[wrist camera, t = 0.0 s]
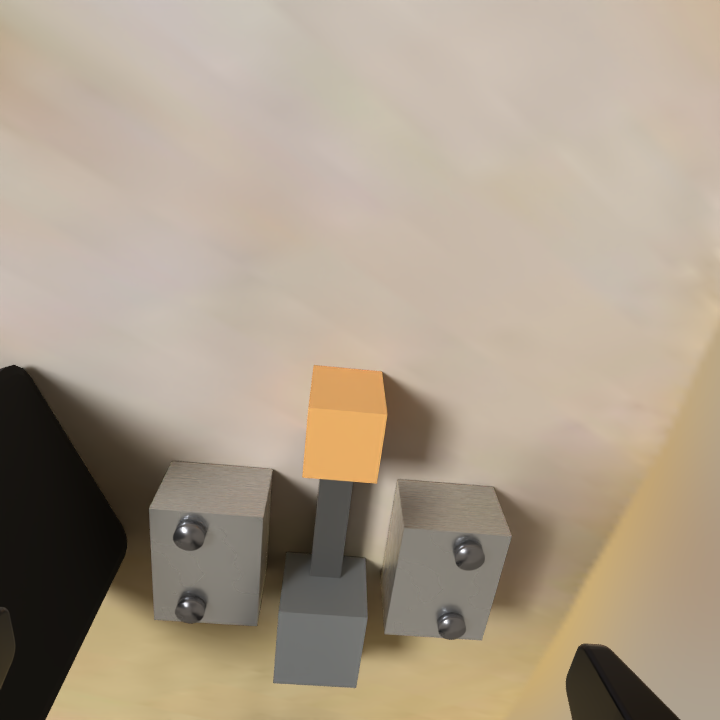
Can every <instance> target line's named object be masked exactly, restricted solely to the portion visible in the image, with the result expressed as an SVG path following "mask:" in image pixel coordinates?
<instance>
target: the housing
mask: <svg viewBox="0 0 720 720" xmlns="http://www.w3.org/2000/svg"><path fill="white" fill-rule="evenodd" d="M272 473H273V469H265V468H252V467H240V466H228V465H216V464H203V463H191V462H179V461H172V462H171V464H170V466H169V468H168V470H167V472H166V474H165V476H164V478H163V481H162V483H161V485H160V487H159V489H158V491H157V493H156V495H155V497H154V499H153V501H152V503H151V505H150V508H149V521H150V541H151V562H152V582H153V602H154V620H166V621H182V622H185V623H196V622H198V623H214V624H230V625H246V626H257V624H258V618H259V612H260V606H261V600H262V595H263V589H264V583H265V577H266V571H267V555H268V538H269V522H270V506H271V489H272ZM511 537H512V535H511V533H510V530H509V527H508V525H507V522H506V519H505V517H504V514H503V511H502V509H501V506H500V504H499V501H498V498H497V496H496V493H495V490H494V488H493V487H486V486H474V485H462V484H449V483H437V482H425V481H412V480H400V479H398V480H397V486H396V492H395V498H394V503H393V509H392V515H391V521H390V527H389V532H388V538H387V544H386V550H385V556H384V561H383V567H382V573H381V593H382V607H383V621H384V634H389V635H405V636H421V637H437V638H445V639H449V640H453V639H469V640H482V638H483V635H484V631H485V628H486V624H487V621H488V617H489V614H490V610H491V607H492V603H493V600H494V596H495V593H496V589H497V586H498V583H499V579H500V576H501V572H502V569H503V565H504V562H505V558H506V555H507V551H508V548H509V544H510V541H511Z"/></svg>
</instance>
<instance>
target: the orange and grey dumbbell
mask: <svg viewBox="0 0 720 720" xmlns="http://www.w3.org/2000/svg"><path fill="white" fill-rule="evenodd" d="M386 420H387V408H386V400H385V392H384V384H383V376H382V372H380V371H370V370H359V369H349V368H338V367H327V366H317V365H314V368H313V376H312V384H311V392H310V400H309V408H308V419H307V430H306V442H305V453H304V465H303V476H302V477H303V478H315V479H319V488H318V497H317V507H316V517H315V526H314V536H313V546H312V554H306V553H292V552H287V553H286V561H285V568H284V576H283V583H282V591H281V598H280V606H279V614H278V627H277V640H276V653H275V667H274V680H273V683H280V684H297V685H315V686H332V687H350V688H356V685H357V679H358V673H359V667H360V661H361V655H362V649H363V643H364V637H365V631H366V625H367V619H368V612H367V586H366V561H365V558H361V557H348V556H343V555H344V547H345V540H346V532H347V525H348V517H349V510H350V502H351V495H352V487H353V482H364V483H377V479H378V472H379V466H380V459H381V453H382V446H383V440H384V433H385V427H386Z"/></svg>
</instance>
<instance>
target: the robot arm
mask: <svg viewBox="0 0 720 720" xmlns="http://www.w3.org/2000/svg"><path fill="white" fill-rule="evenodd" d="M14 653H15V639H14V634H13V629H12V624H11V619H10V614H9V611H8V610H7V609H6V608H5V607H0V689H1V686H2V684H3V682H4V679H5V677H6V675H7V672H8V670H9V667H10V665H11V663H12V660H13V657H14ZM566 692H567V697H568V702H569V706H570V711H571V715H572V720H680V719H679V718H678V717H677V716H676V715H675V714H674V713H673V712H672V711H671V710H670V709H669V708H668V707H667V706H666V705H665V704H664V703H663V702H662V701H661V700H660V699H659V698H658V697H657V696H656V695H655V694H654V693H653V692H652V691H651V690H650V689H649V688H648V687H647V686H646V685H645V684H644V683H643V682H642V681H641V679H640V678H639V677H638V676H637V675H636V674H635V673H634V672H633V671H632V670H631V669H630V668H628V666H627V665H626V664H625V663H624V662H623V661H622V660H621V659H620V658H619V657H618V656H617V655H616V654H615V653H614V652H613V651H612V650H611V649H609V648H608V647H606V646H604V645H599V644H581V645H580V646H579V647H578V649H577V651H576V654H575V656H574V659H573V661H572V664H571V667H570V669H569V671H568V674H567V678H566Z"/></svg>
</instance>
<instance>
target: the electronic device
mask: <svg viewBox="0 0 720 720" xmlns="http://www.w3.org/2000/svg"><path fill="white" fill-rule="evenodd" d="M126 549H127V539H126V534H125V532H124V529H123V527H122V525H121V523H120V522H119V520H118V518H117V517H116V515H115V513H114V512H113V510H112V509H111V507H110V505H109V504H108V502H107V500H106V499H105V497H104V496H103V494H102V492H101V491H100V489H99V487H98V486H97V484H96V483H95V481H94V479H93V478H92V476H91V474H90V473H89V471H88V469H87V468H86V466H85V465H84V463H83V461H82V460H81V458H80V456H79V455H78V453H77V452H76V450H75V448H74V447H73V445H72V443H71V442H70V440H69V439H68V437H67V435H66V434H65V432H64V430H63V429H62V427H61V425H60V424H59V422H58V421H57V419H56V417H55V416H54V414H53V412H52V411H51V409H50V408H49V406H48V404H47V403H46V401H45V399H44V398H43V396H42V395H41V393H40V391H39V390H38V388H37V386H36V385H35V383H34V382H33V380H32V378H31V377H30V376H29V375H28V373H27V372H26V371H25V370H24V369H23V368H21V367H18V366H16V365H12V366H8V367H5V368H1V369H0V607H5V608H6V609H7V610H8V611H9V614H10V619H11V624H12V629H13V634H14V639H15V653H14V657H13V660H12V663H11V665H10V667H9V670H8V672H7V675H6V677H5V679H4V682H3V684H2V686H1V689H0V720H45V719H46V717H47V715H48V713H49V711H50V709H51V707H52V705H53V703H54V701H55V699H56V697H57V695H58V693H59V691H60V688H61V686H62V684H63V682H64V680H65V678H66V676H67V674H68V672H69V670H70V668H71V666H72V664H73V662H74V660H75V658H76V655H77V653H78V651H79V649H80V647H81V645H82V643H83V641H84V639H85V637H86V635H87V633H88V631H89V629H90V627H91V625H92V622H93V620H94V618H95V616H96V614H97V612H98V610H99V608H100V606H101V604H102V602H103V600H104V598H105V596H106V594H107V592H108V589H109V587H110V585H111V583H112V581H113V579H114V577H115V575H116V573H117V571H118V569H119V567H120V565H121V563H122V561H123V559H124V556H125V553H126Z"/></svg>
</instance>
